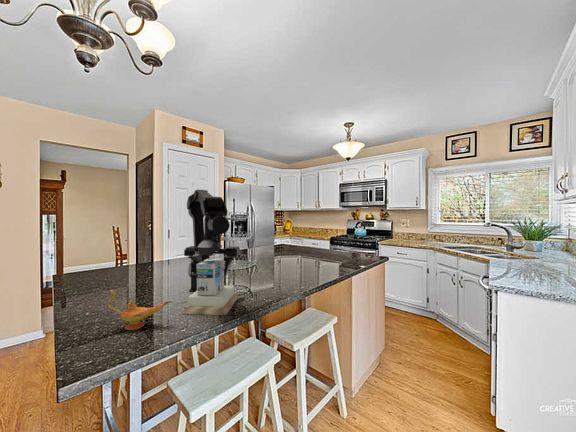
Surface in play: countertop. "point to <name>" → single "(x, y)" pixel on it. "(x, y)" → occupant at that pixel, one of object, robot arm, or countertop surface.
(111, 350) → the countertop surface
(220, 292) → the sage top block
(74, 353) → the countertop surface
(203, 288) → the light bulb box
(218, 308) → the oak base block
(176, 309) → the countertop surface
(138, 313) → the magic lamp
